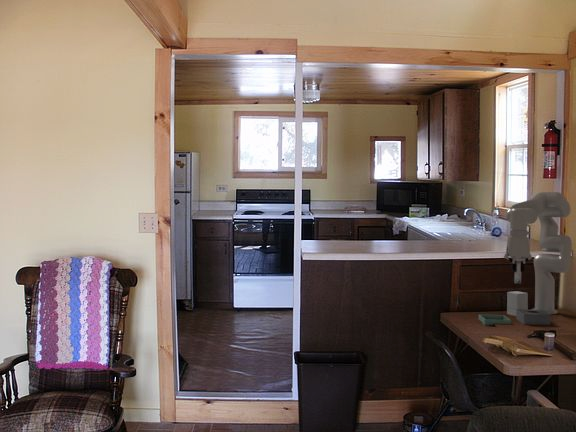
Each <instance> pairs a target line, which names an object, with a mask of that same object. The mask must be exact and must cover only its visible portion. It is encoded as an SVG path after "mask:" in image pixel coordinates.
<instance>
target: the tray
mask: <svg viewBox="0 0 576 432" xmlns="http://www.w3.org/2000/svg"><path fill="white" fill-rule="evenodd" d="M479 320H480V321H481V322H482V323H481V322H480V321H479ZM478 321H479V322H480V323H481V324H483V325H484V326H489V325H500V324H501V325H511V324H512V320H511V319H510V318H509V317H507V316H506V315H505V314H478Z"/></svg>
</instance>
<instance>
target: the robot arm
mask: <svg viewBox="0 0 576 432" xmlns="http://www.w3.org/2000/svg"><path fill="white" fill-rule="evenodd" d="M571 209H572V208H571V205H570V203H569V202H568V200H567V198H566V197H565V196H564V195H563V193H561V192H558V191H541V192H538V193H536V194H535V195H534V196H532V198H530V199H529V200H524V201H520V202H517V203H516V204H512V205H511V206H510V207H509V208H508V210H506V213H505V214H506V220H507V222H509V224H510V225H509V227H510V228H509V229H510V230H509V232H510V233H509V234H510V235H509V236H508V237H507V241H506V247H505V248H506V249H505V254H504V256H503V259H506V260H508V261H509V262H510V264H511V265H510V267H511V270H512V272H514V273H515V272H516V264H515V258H523V261H521V273H524V271H525V265H526V263H527V262H528V261H530V260H532V259H533V266H534V275H535V279H534V280H535V281H534V282H535V283H534V291H535V292H534V307H533V308H531V310H543V311H545V312H547V313H548V314H550V315H556V314H557V315H558V310H556V309H555V294H556V293H555V292H556V291H555V289H556V285H555V284H556V283H555V278H554V276H553V275H552V273H558V274H566V273H567V272H568V271H569V269H570V266H571V265H570V264H571V256H572V249H573V248H572V247H573V243H572V239H571V237H570V235H569V236H568V235H566V234H558V233H559V225H558V223H557V222H556V221H555V219H554V218H567V217H568V216H570V214H571ZM537 220H538V221H539V224H540V234H539V240H538V241H539V243H538V247H539V250H540V251H542V252H547V253H538V254H536V255H535V256H534V258H533V256H532V254H531V247H530V240H529V236H528V235H531V232H530V231H528V224H534V223H536V221H537ZM553 253H555V254H553ZM556 253H557V254H556Z"/></svg>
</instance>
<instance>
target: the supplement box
mask: <svg viewBox="0 0 576 432" xmlns="http://www.w3.org/2000/svg"><path fill="white" fill-rule="evenodd" d="M506 296H507V297H506V314H507V315H508V316H514V317H516V311H517V309H528V308H529V300H528V298H529V294H528V292H525V291H523V292H522V291H516V290H515V291H514V290H513V291H507V292H506ZM528 310H529V309H528Z"/></svg>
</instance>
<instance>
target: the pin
mask: <svg viewBox="0 0 576 432" xmlns="http://www.w3.org/2000/svg"><path fill="white" fill-rule="evenodd" d="M521 261H523V258H521V257H515V264H516V272H514V278H513V279H514V280H513V281H514V282H513V283H514V284H522V272H521Z"/></svg>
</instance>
